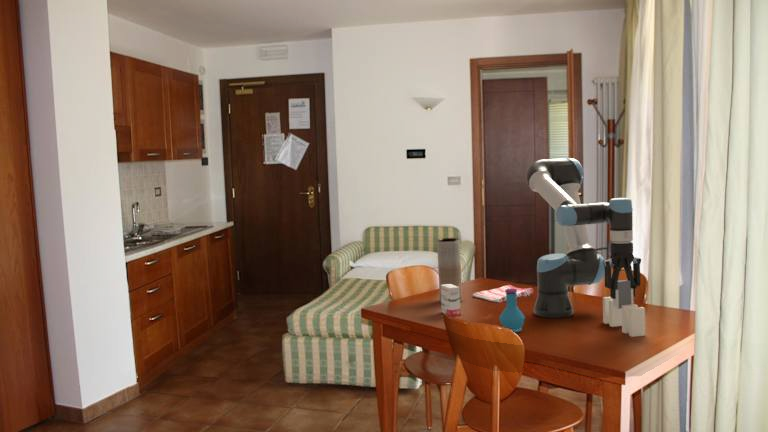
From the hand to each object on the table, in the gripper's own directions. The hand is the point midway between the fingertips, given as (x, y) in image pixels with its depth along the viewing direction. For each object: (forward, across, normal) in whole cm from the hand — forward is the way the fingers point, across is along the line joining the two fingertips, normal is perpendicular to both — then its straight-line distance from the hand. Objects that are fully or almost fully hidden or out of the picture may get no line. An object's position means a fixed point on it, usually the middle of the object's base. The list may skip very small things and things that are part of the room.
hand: (623, 306), depth 231 cm
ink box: (+8, -52, +44) cm, 68 cm away
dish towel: (+8, -21, +67) cm, 71 cm away
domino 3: (+8, 0, -4) cm, 9 cm away
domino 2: (0, 0, 0) cm, 0 cm away
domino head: (+8, 0, +9) cm, 12 cm away
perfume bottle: (+8, -37, +13) cm, 40 cm away
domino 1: (+8, 0, +5) cm, 9 cm away
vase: (+8, -46, +65) cm, 80 cm away
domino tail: (+8, 0, -9) cm, 12 cm away
